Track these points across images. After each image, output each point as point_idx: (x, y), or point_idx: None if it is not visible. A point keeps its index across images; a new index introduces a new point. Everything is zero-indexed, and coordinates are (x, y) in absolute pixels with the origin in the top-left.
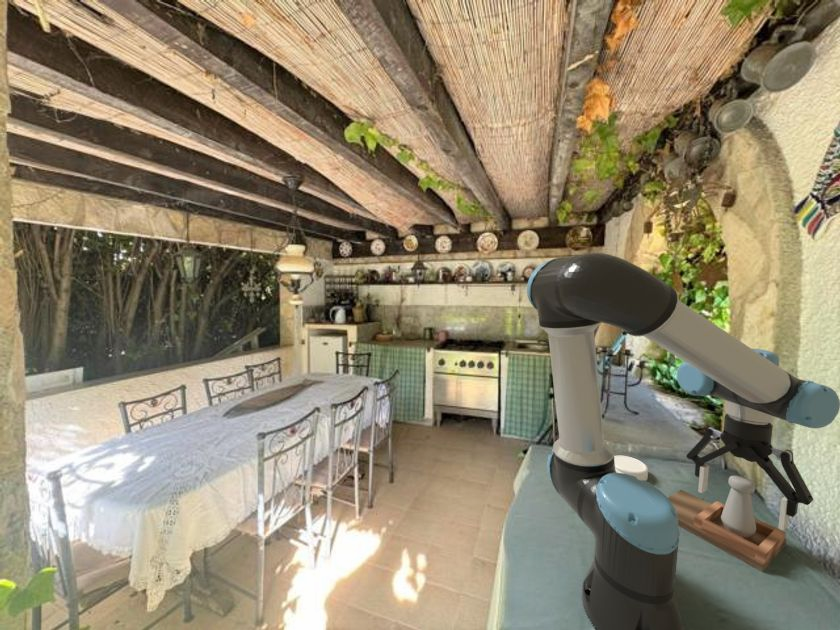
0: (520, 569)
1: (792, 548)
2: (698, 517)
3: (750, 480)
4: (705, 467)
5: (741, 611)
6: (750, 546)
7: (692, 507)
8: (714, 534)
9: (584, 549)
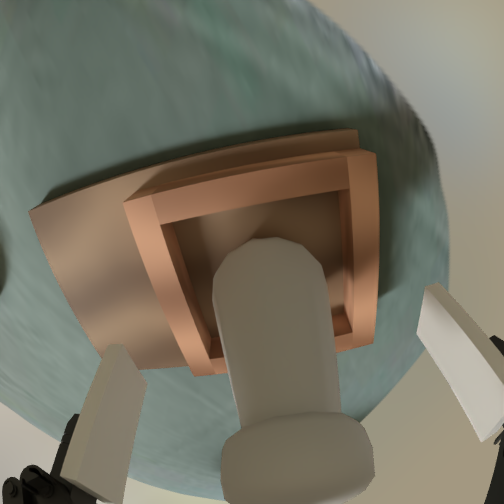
0: (210, 496)
1: (362, 126)
2: (198, 369)
3: (347, 488)
4: (109, 499)
5: (358, 411)
6: (340, 351)
7: (118, 279)
8: None
9: (199, 471)
